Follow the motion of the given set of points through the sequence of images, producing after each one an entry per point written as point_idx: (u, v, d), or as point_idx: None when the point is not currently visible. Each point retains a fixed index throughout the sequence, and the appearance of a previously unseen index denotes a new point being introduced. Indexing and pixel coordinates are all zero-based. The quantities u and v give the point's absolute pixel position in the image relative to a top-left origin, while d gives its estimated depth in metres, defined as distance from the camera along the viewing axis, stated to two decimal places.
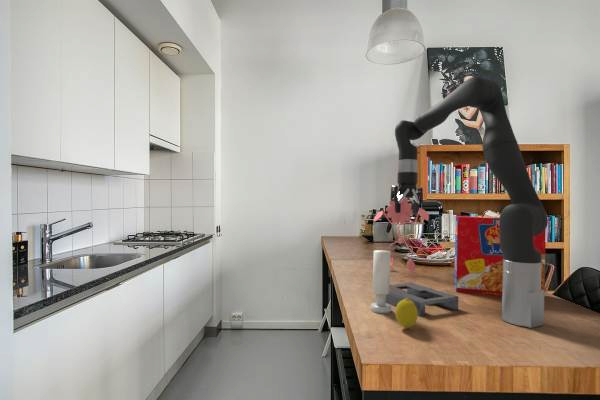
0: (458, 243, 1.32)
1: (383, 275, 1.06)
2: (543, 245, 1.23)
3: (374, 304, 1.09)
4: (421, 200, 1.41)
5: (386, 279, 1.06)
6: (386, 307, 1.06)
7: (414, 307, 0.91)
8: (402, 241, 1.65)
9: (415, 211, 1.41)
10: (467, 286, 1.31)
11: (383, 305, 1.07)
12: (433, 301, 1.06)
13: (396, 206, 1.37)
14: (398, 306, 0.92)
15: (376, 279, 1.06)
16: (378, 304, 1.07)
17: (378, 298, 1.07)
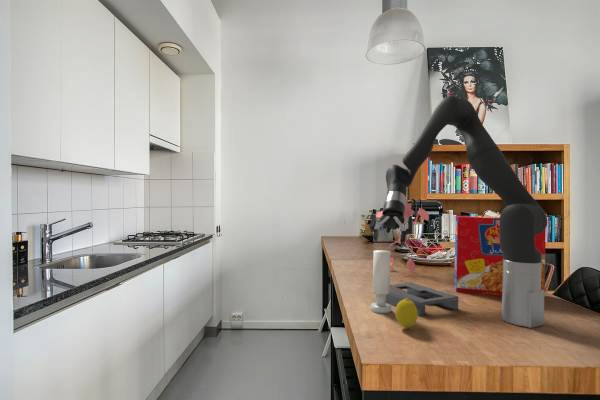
0: (458, 243, 1.32)
1: (383, 275, 1.06)
2: (543, 245, 1.23)
3: (374, 304, 1.09)
4: (409, 228, 1.19)
5: (386, 279, 1.06)
6: (386, 307, 1.06)
7: (414, 307, 0.91)
8: None
9: (400, 239, 1.18)
10: (467, 286, 1.31)
11: (383, 305, 1.07)
12: (433, 301, 1.06)
13: (373, 234, 1.23)
14: (398, 306, 0.92)
15: (376, 279, 1.06)
16: (378, 304, 1.07)
17: (378, 298, 1.07)
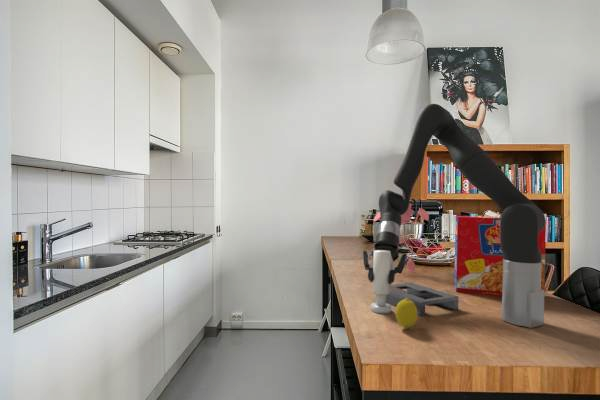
0: (458, 243, 1.32)
1: (383, 275, 1.06)
2: (543, 245, 1.23)
3: (374, 304, 1.09)
4: (398, 266, 1.07)
5: (386, 278, 1.06)
6: (386, 307, 1.06)
7: (414, 307, 0.91)
8: (402, 241, 1.65)
9: None
10: (467, 286, 1.31)
11: (383, 305, 1.07)
12: (433, 301, 1.06)
13: (368, 273, 1.09)
14: (398, 306, 0.92)
15: (376, 279, 1.06)
16: (378, 304, 1.07)
17: (378, 298, 1.07)
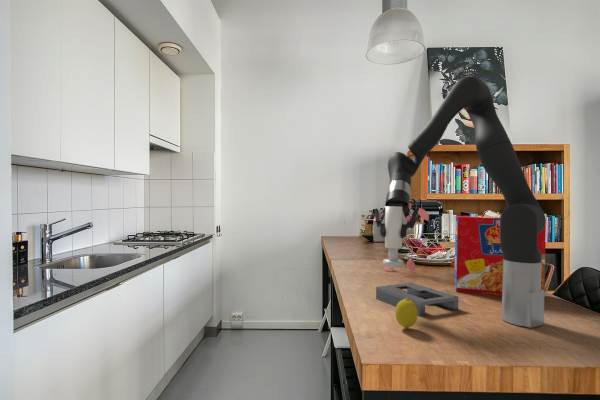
0: (458, 243, 1.32)
1: (395, 229, 1.06)
2: (543, 245, 1.23)
3: (386, 259, 1.10)
4: (410, 221, 1.08)
5: (398, 233, 1.06)
6: (398, 261, 1.07)
7: (414, 307, 0.91)
8: (402, 241, 1.65)
9: (401, 233, 1.06)
10: (467, 286, 1.31)
11: (395, 259, 1.07)
12: (433, 301, 1.06)
13: None
14: (398, 306, 0.92)
15: (389, 233, 1.07)
16: (390, 259, 1.08)
17: (390, 253, 1.08)
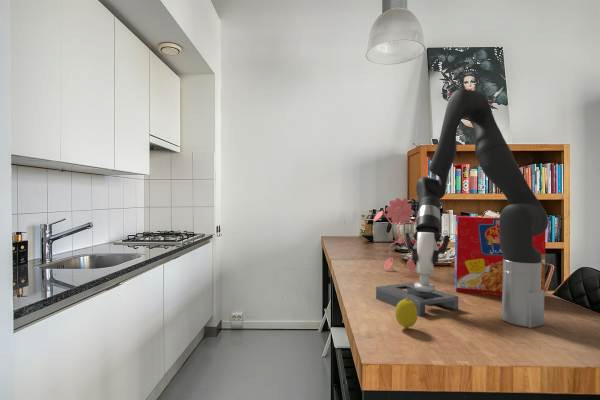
0: (458, 243, 1.32)
1: (428, 256, 1.10)
2: (543, 245, 1.23)
3: (417, 284, 1.13)
4: (442, 247, 1.11)
5: (430, 259, 1.10)
6: (430, 286, 1.11)
7: (414, 307, 0.91)
8: (402, 241, 1.65)
9: (433, 259, 1.10)
10: (467, 286, 1.31)
11: (427, 284, 1.11)
12: (433, 301, 1.06)
13: None
14: (398, 306, 0.92)
15: (421, 259, 1.11)
16: (422, 283, 1.12)
17: (422, 278, 1.12)
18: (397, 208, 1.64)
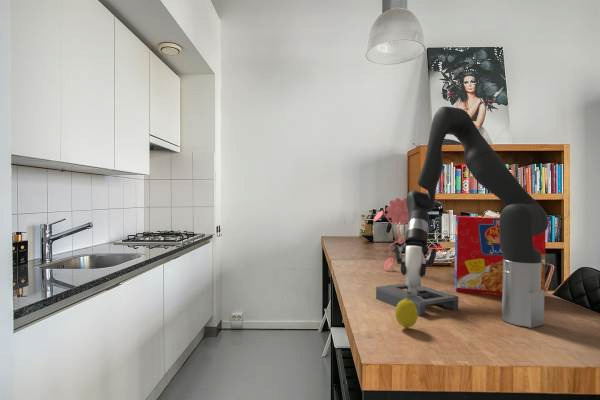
0: (458, 243, 1.32)
1: (415, 269, 1.14)
2: (543, 245, 1.23)
3: None
4: (429, 260, 1.16)
5: (418, 272, 1.15)
6: None
7: (414, 307, 0.91)
8: (402, 241, 1.65)
9: (420, 272, 1.14)
10: (467, 286, 1.31)
11: None
12: (433, 301, 1.06)
13: (401, 266, 1.18)
14: (398, 306, 0.92)
15: (409, 272, 1.15)
16: None
17: (410, 290, 1.16)
18: (397, 208, 1.64)
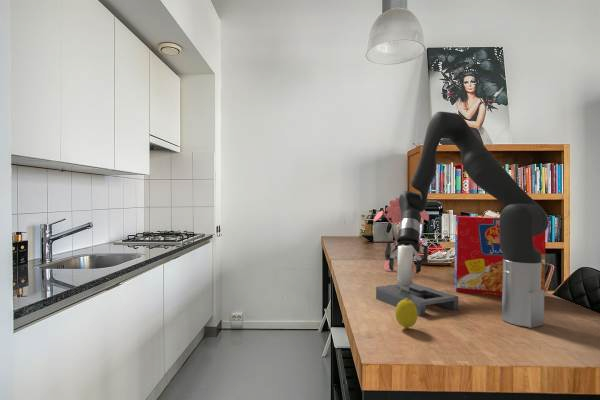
0: (458, 243, 1.32)
1: (407, 268, 1.18)
2: (543, 245, 1.23)
3: None
4: (424, 257, 1.19)
5: (409, 271, 1.18)
6: None
7: (414, 307, 0.91)
8: None
9: (416, 268, 1.18)
10: (467, 286, 1.31)
11: None
12: (433, 301, 1.06)
13: None
14: (398, 306, 0.92)
15: (401, 271, 1.19)
16: None
17: (402, 288, 1.19)
18: (397, 208, 1.64)
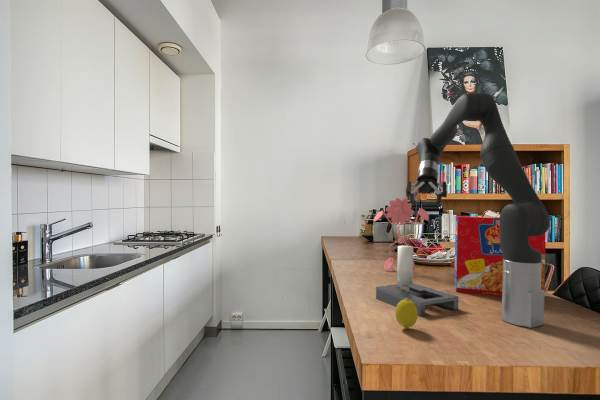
0: (458, 243, 1.32)
1: (407, 268, 1.18)
2: (543, 245, 1.23)
3: None
4: (444, 191, 1.28)
5: (409, 271, 1.18)
6: None
7: (414, 307, 0.91)
8: (402, 241, 1.65)
9: None
10: (467, 286, 1.31)
11: None
12: (433, 301, 1.06)
13: (410, 198, 1.32)
14: (398, 306, 0.92)
15: (401, 271, 1.19)
16: None
17: (402, 288, 1.19)
18: (397, 208, 1.64)
